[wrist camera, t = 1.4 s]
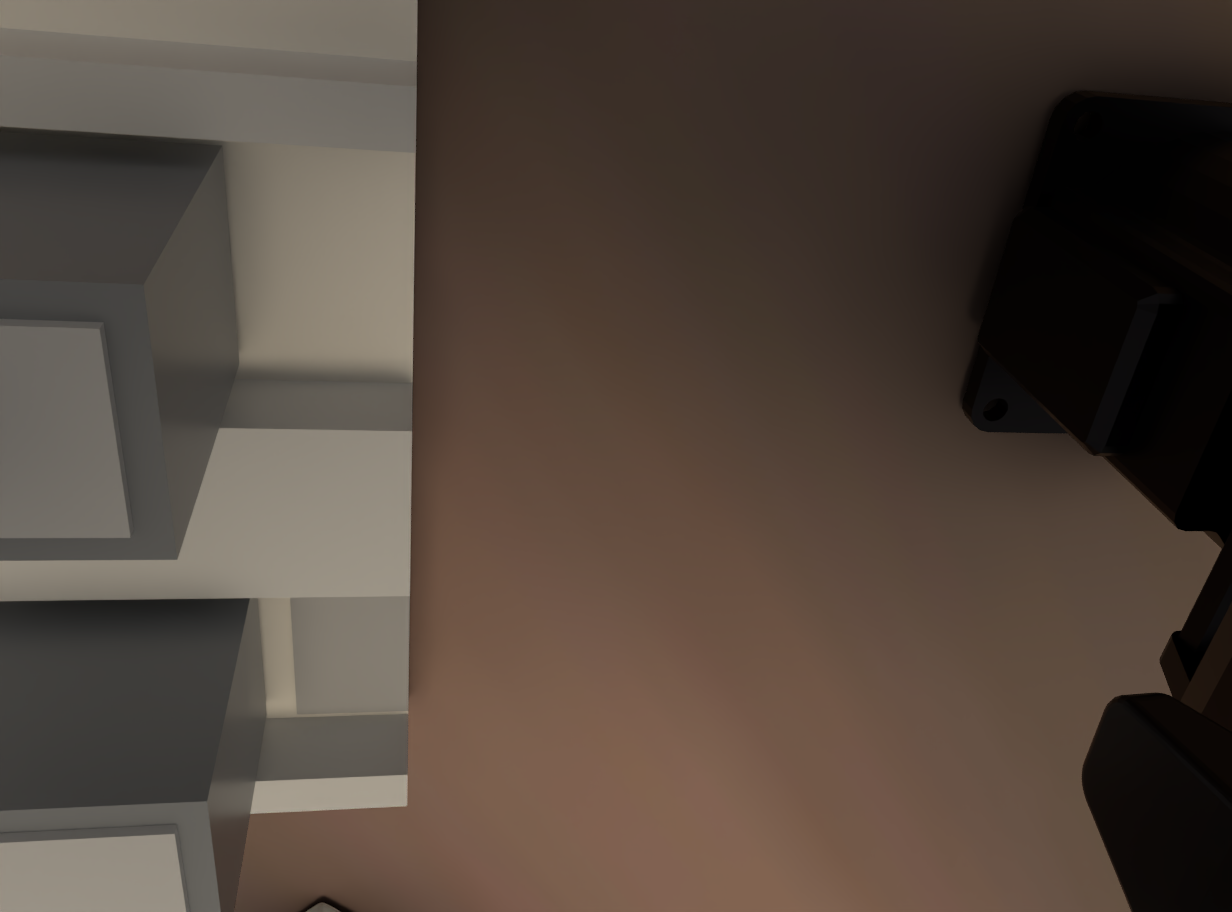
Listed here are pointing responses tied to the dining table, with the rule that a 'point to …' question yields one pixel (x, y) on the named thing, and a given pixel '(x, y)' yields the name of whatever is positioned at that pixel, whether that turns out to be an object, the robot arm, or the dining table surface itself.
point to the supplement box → (322, 908)
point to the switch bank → (276, 344)
